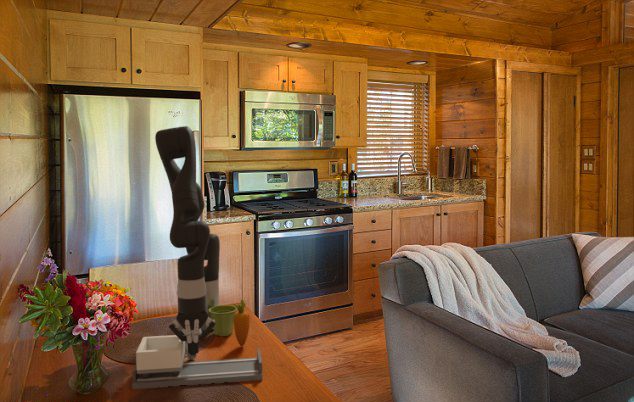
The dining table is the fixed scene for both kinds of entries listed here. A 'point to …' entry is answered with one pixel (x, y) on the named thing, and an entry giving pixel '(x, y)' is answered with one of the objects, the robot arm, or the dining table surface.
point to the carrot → (241, 323)
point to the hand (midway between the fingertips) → (193, 354)
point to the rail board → (204, 373)
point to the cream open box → (160, 355)
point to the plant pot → (223, 319)
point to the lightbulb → (187, 344)
